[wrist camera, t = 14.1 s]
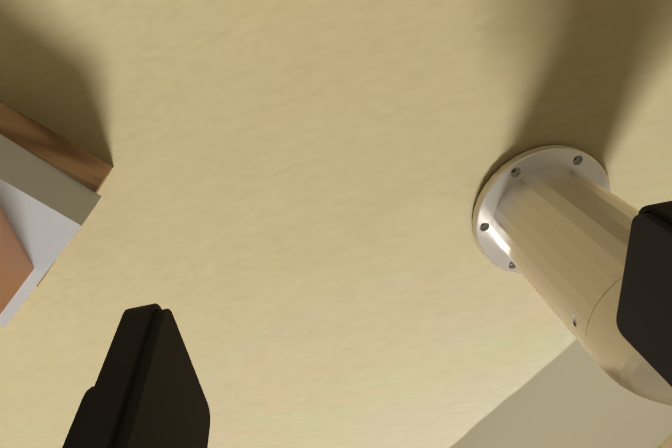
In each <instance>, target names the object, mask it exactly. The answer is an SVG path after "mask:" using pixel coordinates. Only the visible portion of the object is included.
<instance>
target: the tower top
mask: <svg viewBox="0 0 672 448" xmlns="http://www.w3.org/2000/svg"><path fill="white" fill-rule="evenodd" d="M100 198H101V196H100V195H99V194H97V193H95V192H94V191H92V190H91V189H89V188H87V187H86V186H84V185H82V184H81V183H79V182H78V181H76V180H74V179H73V178H71V177H69V176H68V175H66V174H64V173H63V172H61V171H60V170H58V169H56V168H55V167H53V166H51V165H50V164H48V163H47V162H45V161H43V160H42V159H40V158H38V157H37V156H35V155H34V154H32V153H30V152H29V151H27V150H25V149H24V148H22V147H21V146H19V145H17V144H16V143H14V142H12V141H11V140H9V139H8V138H6V137H4V136H3V135H1V134H0V207H1V209H2V211H3V213H4V215H5V216H6V218H7V220H8V222H9V224H10V225H11V227H12V229H13V231H14V233H15V234H16V236H17V238H18V240H19V242H20V243H21V245H22V247H23V249H24V251H25V252H26V254H27V256H28V258H29V260H30V261H31V263H32V265H33V267H34V270H33V271H32V272H31V274H30V275H29V276H28V278H27V279H26V280H25V282H24V283H23V284H22V286H21V287H20V288H19V290H18V291H17V292H16V294H15V295H14V296H13V298H12V299H11V300H10V302H9V303H8V305H7V306H6V307H5V309H4V310H3V311H2V313H1V314H0V325H1V326H3V327H5V326H6V325H7V324H8V323H9V321H10V320H11V319H12V317H13V316H14V315H15V313H16V312H17V311H18V309H19V308H20V307H21V305H22V304H23V303H24V301H25V300H26V299H27V297H28V296H29V295H30V293H31V292H32V291H33V289H34V288H35V287H36V285H37V284H38V283H39V281H40V280H41V279H42V277H43V276H44V275H45V273H46V272H47V271H48V269H49V268H50V267H51V265H52V264H53V263H54V262H55V260H56V259H57V258H58V256H59V255H60V254H61V252H62V251H63V250H64V248H65V247H66V246H67V244H68V243H69V242H70V240H71V239H72V238H73V236H74V235H75V234H76V232H77V231H78V230H79V228H80V227H81V226H82V224H83V223H84V221H85V220H86V218H87V217H88V215H89V214H90V213H91V211H92V210H93V208H94V207H95V205H96V204H97V202H98V201H99V199H100Z"/></svg>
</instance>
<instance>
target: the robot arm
mask: <svg viewBox="0 0 672 448" xmlns="http://www.w3.org/2000/svg"><path fill="white" fill-rule="evenodd" d="M472 224H473V234H474V237H475V240H476V243H477V245H478V246H479V248H480V250H481V251H482V253H483V254H484V255H485V256H486V257H487V259H488V260H489V261H491V262H492V263H493V264H494V265H496V266H497V267H500V268H502V269H504V270H506V271H510V272H515V273H522V274H523V275H524V276H525V278H526V279H527V280H528V281H529V282H530V284H531V285H532V286H533V287H534V288H535V290H536V291H537V292H538V293H539V294H540V296H541V297H542V298H543V299H544V300H545V302H546V303H547V304H548V305H549V306H550V308H551V309H552V310H553V311H554V312H555V313H556V315H557V316H558V317H559V318H560V319H561V321H562V322H563V323H564V324H565V325H566V327H567V328H568V329H569V330H570V331H571V333H572V334H573V335H574V336H575V337H576V339H577V340H578V341H579V342H580V343H581V344H582V346H583V347H584V348H585V349H586V350H587V352H588V353H589V354H590V355H591V356H592V357H593V359H594V360H595V361H596V362H597V363H598V365H599V366H600V367H601V368H602V369H603V370H604V371H605V373H607V374H608V376H609V377H610V378H612V379H613V380H614V381H615V382H617V383H618V384H619V385H621V386H622V387H624V388H625V389H627V390H629V391H631V392H633V393H634V394H636V395H639V396H641V397H644V398H647V399H649V400H652V401H656V402H659V403H663V404H667V405H671V406H672V201H668V202H663V203H658V204H653V205H648V206H645V207H643V208H641V210H640V211H638V210H637V209H635V208H634V207H632V206H631V205H629V204H628V203H626V202H624V201H623V200H621V199H620V198H618V197H617V196H615V195H614V194H612V193H611V192H610V185H609V180H608V178H607V175H606V173H605V171H604V169H603V168H602V167H601V165H600V164H599V162H597V161H596V160H595V159H594V158H592V157H591V156H590V155H588V154H586V153H585V152H583V151H581V150H579V149H576V148H573V147H570V146H563V145H549V146H541V147H538V148H534V149H531V150H528V151H526V152H524V153H522V154H519V155H517V156H515V157H514V158H512V159H511V160H510V161H508V162H507V163H505V164H504V165H503V166H502V167H501V168H499V169H498V170H497V171H496V172H495V173H494V174H493V175H492V177H491V178H490V179H489V180H488V182H487V183H486V184H485V185H484V187H483V189H482V191H481V193H480V195H479V196H478V199H477V202H476V205H475V208H474V212H473V219H472ZM209 428H210V412H209V407H208V403H207V401H206V398H205V396H204V393H203V391H202V388H201V385H200V383H199V380H198V378H197V375H196V373H195V370H194V368H193V365H192V363H191V360H190V357H189V355H188V352H187V350H186V347H185V345H184V342H183V340H182V337H181V334H180V332H179V329H178V327H177V324H176V322H175V319H174V317H173V314H172V312H171V311H170V310H169V309H164V310H162V309H161V307H160V306H159V305H158V304H151V305H146V306H141V307H136V308H131V309H127V310H125V312H124V313H123V315H122V318H121V321H120V323H119V326H118V328H117V331H116V333H115V336H114V338H113V341H112V343H111V346H110V348H109V351H108V353H107V356H106V358H105V361H104V364H103V366H102V369H101V371H100V374H99V376H98V379H97V381H96V384H95V386H94V387H91V388H90V389H89V390H87V392H86V393H85V395H84V397H83V399H82V401H81V404H80V406H79V408H78V411H77V413H76V416H75V418H74V421H73V423H72V425H71V428H70V430H69V433H68V435H67V438H66V440H65V442H64V445H63V447H62V448H207V446H208V437H209ZM656 448H672V435H671V436H669V437H668V438H667V439H666V440H664V441H663V442H662V443H661V444H660V445H658V446H657V447H656Z"/></svg>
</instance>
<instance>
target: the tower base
mask: <svg viewBox="0 0 672 448" xmlns="http://www.w3.org/2000/svg"><path fill="white" fill-rule="evenodd" d="M0 134H1V135H3V136H4V137H6V138H8V139H9V140H11V141H12V142H14V143H16V144H17V145H19V146H21V147H22V148H24V149H25V150H27V151H29V152H30V153H32V154H34V155H35V156H37V157H38V158H40V159H42V160H43V161H45V162H47V163H48V164H50V165H51V166H53V167H55V168H56V169H58V170H60V171H61V172H63V173H64V174H66V175H68V176H69V177H71V178H73V179H74V180H76V181H78V182H79V183H81V184H82V185H84V186H86V187H87V188H89V189H91V190H92V191H94V192H95V193H97V192H98V191H99V189H100V188H101V186H102V184H103V183H104V181H105V179H106V178H107V176H108V175H109V173H110V171H111V170H112V168H113V165H111V164H109V163H107V162H105V161H104V160H102V159H100V158H98V157H97V156H95V155H93V154H91V153H89V152H88V151H86V150H84V149H82V148H81V147H79V146H77V145H75V144H73V143H72V142H70V141H68V140H66V139H65V138H63V137H61V136H59V135H58V134H56V133H54V132H52V131H50V130H49V129H47V128H45V127H43V126H42V125H40V124H38V123H36V122H34V121H33V120H31V119H29V118H27V117H26V116H24V115H22V114H20V113H19V112H17V111H15V110H13V109H11V108H10V107H8V106H6V105H4V104H3V103H1V102H0ZM55 261H56V260H55ZM52 265H53V264H52ZM52 265H51V266H52ZM50 268H51V267H50ZM50 268H49V269H50ZM49 269H48V271H49ZM48 271H47V272H48ZM47 272H46V273H45V275H46V274H47ZM45 275H44V276H45ZM44 276H43V277H42V279H43V278H44ZM42 279H41V280H40V281H39V283H38V284H37V285H36V286H37V287H38V285H39V284H40V282H41V281H42Z"/></svg>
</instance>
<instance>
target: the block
mask: <svg viewBox="0 0 672 448" xmlns="http://www.w3.org/2000/svg"><path fill="white" fill-rule="evenodd" d="M33 270H34V267H33V265H32V263H31V261H30V260H29V258H28V256H27V254H26V252H25V251H24V249H23V247H22V245H21V243H20V242H19V240H18V238H17V236H16V234H15V233H14V231H13V229H12V227H11V225H10V224H9V222H8V220H7V218H6V216H5V215H4V213H3V211H2V209H1V207H0V314H1V313H2V311H3V310H4V309H5V307H6V306H7V305H8V303H9V302H10V300H11V299H12V298H13V296H14V295H15V294H16V292H17V291H18V290H19V288H20V287H21V286H22V284H23V283H24V282H25V280H26V279H27V278H28V276H29V275H30V274H31V272H32V271H33Z"/></svg>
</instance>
